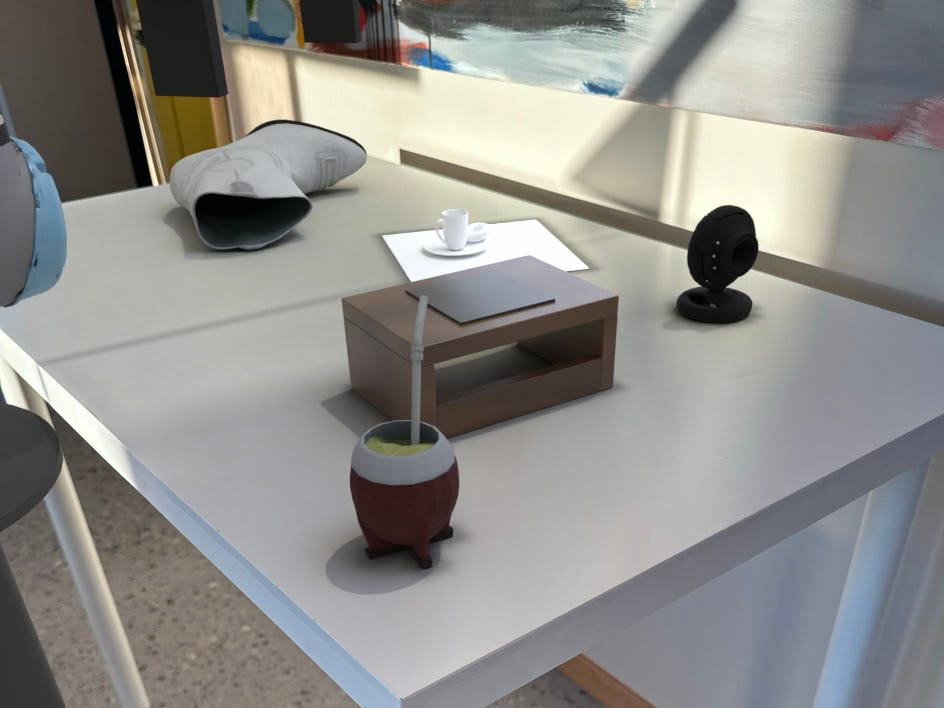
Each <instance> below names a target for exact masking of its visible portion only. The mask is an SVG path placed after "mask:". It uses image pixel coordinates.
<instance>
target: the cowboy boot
mask: <svg viewBox="0 0 944 708" xmlns="http://www.w3.org/2000/svg"><path fill="white" fill-rule="evenodd" d="M367 155H368V154H367V150H366V149H365V147H364V146H363V145H362V144H361V143H359V142H358V141H357V140H356V139H354V138H352V137H350V136H348V135H346V134H344V133H340V132H337V131H335V130H331V129H328V128H326V127H322V126H319V125H315V124H312V123H308V122H304V121H300V120H291V119H287V118H286V119H273V120H268V121H265V122H263V123H261V124H259V125H257V126H255V127H254V128H253V129H252V130H251V131H249V132H248V133H247V134H246V135H245V136H244V137H242V138H240V139H238V140H236V141H233V142H230V143H229V144H226V145H224V146H220V147H216V148H211V149H206V150H202V151H199V152H196V153H193V154H190V155H187V156H185V157H183V158H181V159H180V160H178V161H177V162H176V163H174V165H173V166H172V167H171V170H170V173H169V190H170V193H171V196H172V198H173V199H174V200H175V202H176V203H177V204H178V205H179V206H180V207H182V208H183V209H185V210H186V211H188V212H189V214H190V216H191V218H192V220H193V224H194V227H195V230H196V233H197V235H198V237H199V239H200V240H201V241H202V242H203V244H205V246H207V247H209V248H210V249H214V250H230V249H237V248H239V249H242V250H246V251H254V250H259V249H261V248H263V247H264V246H266V245H269V244H272V243H273V242H276V241H278V240H279V239H281V238H283V237H284V236H285V235H286V234H288V233H289V232H291V231H292V230H293V229H294V228H296V227H297V226H298V225H299V224H300V223H301V222H303V221H304V220H305V219H306V218H308V217H309V215H310V214H311V213H312V211H313V207H314V206H313V203H312V200H310V198H309V197H308V196H307V195H306V194H309V193H314V192H315V193H316V192H319V191H321V190H325V189H326V188H333V187H334V186H336V185H337V183H339V182H340V181H343V180H344V179H346V178H348V177H351V175H354V173H355V174H356V173H357V172H358V171H359V170H361V169H362V167H363V166H364V165H365V164H366V162H367V161H368V160H367V158H368V157H367Z"/></svg>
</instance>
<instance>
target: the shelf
mask: <svg viewBox="0 0 944 708" xmlns="http://www.w3.org/2000/svg"><path fill="white" fill-rule="evenodd" d="M422 295H425V296H427V297H428V302H427V308H426V314H425V320H424V327H423V335H422V345H424V350H423V352H422V353H423V360H421V392H420V422H424V423H427V424H429V425H432V426H434V427H436V428H437V429H438V430H439V431H440V432H441V433H442V434H443V435H444V436H445V438H446V439H450V438H452V437H455V436H459V435H462V434H466V433H468V432H471V431H475V430H478V429H482V428H484V427H488V426H491V425H495V424H498V423H501V422H504V421H507V420H510V419H514V418H516V417H520V416H524V415H526V414H530V413H534V412H537V411H540V410H543V409H546V408H549V407H552V406H556V405H560V404H562V403H566V402H569V401H572V400H576V399H578V398H582V397H585V396H588V395H592V394H595V393H598V392H602V391H604V390H607V389H611V388H613V387H614V378H615V377H614V376H615V361H616V347H617V344H616V343H617V335H618V332H617V331H618V317H619V315H618V313H619V301H620V299H619V298H620V296H619V294H616V293H614V292H612V291H610V290H607V289H605V288H603V287H601V286H599V285H597V284H595V283H592V282H590V281H588V280H585V279H584V278H581V277H579V276H577V275H575V274H572V273H570V272H569V271H564V270H562V269H559V268H557V267H555V266H553V265H551V264H549V263H546V262H544V261H542V260H540V259H538V258H535V257H533V256H531V255H527V256H523V257H518V258H514V259H509V260H505V261H501V262H496V263H492V264H488V265H483V266H479V267H475V268H470V269H466V270H462V271H457V272H453V273H449V274H444V275H440V276H436V277H431V278H427V279H422V280H418V281H414V282H411V281H410V282H406V283H401V284H397V285H392V286H388V287H384V288H379V289H376V290H371V291H366V292H361V293H357V294H353V295H349V296H344V297H341V307H342V315H343V326H344V336H345V343H346V352H347V361H348V371H349V378H350V379H349V380H350V387H351V390H352V391H354V392H356V393H357V394H358V395H359V396H360V397H362V398H363V399H364V400H366V401H367V402H368V403H369V404H370V405H372V406H373V407H374V408H376V409H377V410H378V411H379V412H381V413H382V414H383V415H385V416H386V417H387V418H388V419H390V420H391V421H398V420H411V418H412V360H411V352H412V351H411V344H413V338H414V329H415V322H416V316H417V310H418V305H419V299H420V296H422ZM513 343H517V344H518V345H519V346H521V347H523V348H525V349H527V350H528V351H530V352H532V353H533V354H535V355H537V356H539V357H541V358H542V359H544V360H546V361H548V362H549V363H551V364H553V365H549V366H546V367H542V368H538V369H536V370H532V371H528V372H525V373H522V374H521V373H520V374H518V375H515V376H511V377H508V378H504V379H500V380H497V381H493V382H490V383H486V384H483V385H479V386H476V387H473V388H470V389H465V390H461V391H459V392H456V393H452V394H448V395H445V396H442V397H439V398H438V397H437V390H436V371H435V365H436V364H440V363H443V362H447V361H451V360H455V359H458V358H462V357H466V356H469V355H473V354H477V353H480V352H483V351H487V350H491V349H494V348H499V347H502V346H503V347H504V346H506V345H510V344H513Z"/></svg>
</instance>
